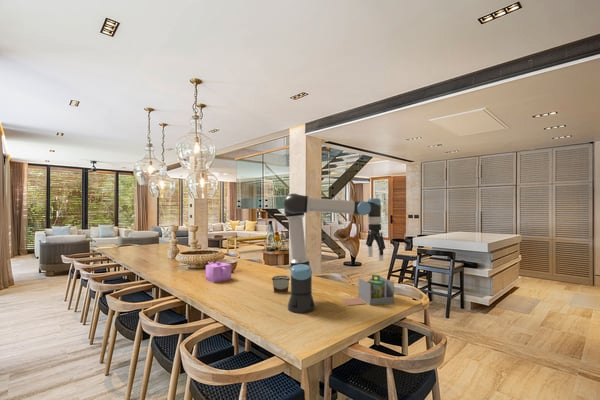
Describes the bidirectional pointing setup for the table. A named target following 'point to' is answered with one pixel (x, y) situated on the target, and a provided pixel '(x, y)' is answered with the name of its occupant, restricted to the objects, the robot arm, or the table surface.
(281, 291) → the food container
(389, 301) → the grey open holder
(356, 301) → the mat
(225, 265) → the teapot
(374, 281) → the green juice carton
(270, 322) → the table surface
